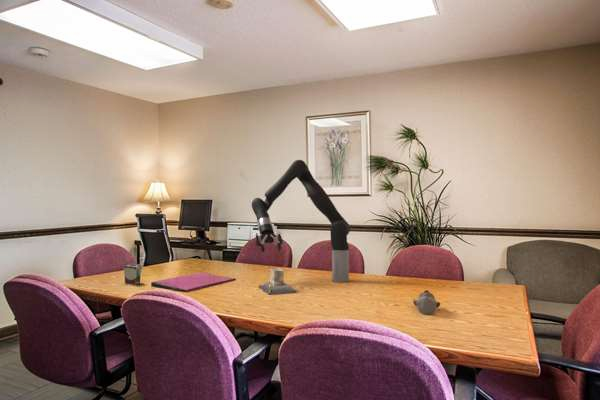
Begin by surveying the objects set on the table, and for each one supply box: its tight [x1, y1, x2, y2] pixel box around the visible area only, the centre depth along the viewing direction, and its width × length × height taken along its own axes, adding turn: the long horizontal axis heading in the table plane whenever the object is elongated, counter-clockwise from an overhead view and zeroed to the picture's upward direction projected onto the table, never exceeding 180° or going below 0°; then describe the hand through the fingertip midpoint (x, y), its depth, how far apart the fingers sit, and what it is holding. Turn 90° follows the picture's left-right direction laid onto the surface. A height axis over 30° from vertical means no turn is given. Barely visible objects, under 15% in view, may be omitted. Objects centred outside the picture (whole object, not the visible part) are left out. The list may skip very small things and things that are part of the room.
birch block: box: [269, 267, 285, 286], centre depth 200 cm, size 5×7×9 cm
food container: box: [122, 263, 143, 286], centre depth 218 cm, size 12×6×10 cm, turn 58°
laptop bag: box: [150, 272, 237, 293], centre depth 217 cm, size 40×4×27 cm
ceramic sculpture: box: [412, 289, 441, 315], centre depth 160 cm, size 11×9×15 cm
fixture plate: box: [258, 281, 297, 296], centre depth 200 cm, size 14×18×4 cm
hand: (271, 250), depth 211 cm, fingers open, 8 cm apart
